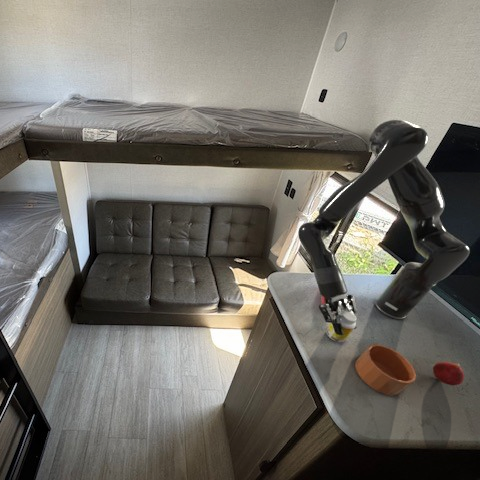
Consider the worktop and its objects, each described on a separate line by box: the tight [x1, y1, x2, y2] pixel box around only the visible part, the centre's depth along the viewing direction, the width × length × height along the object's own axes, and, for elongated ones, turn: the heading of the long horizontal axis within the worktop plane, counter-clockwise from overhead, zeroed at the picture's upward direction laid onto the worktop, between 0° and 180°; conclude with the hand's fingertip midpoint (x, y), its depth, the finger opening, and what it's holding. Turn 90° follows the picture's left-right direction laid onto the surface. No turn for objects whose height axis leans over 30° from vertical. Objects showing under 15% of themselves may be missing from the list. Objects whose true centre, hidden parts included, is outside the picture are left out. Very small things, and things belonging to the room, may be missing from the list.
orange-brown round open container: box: [354, 343, 417, 396], centre depth 72 cm, size 11×11×7 cm
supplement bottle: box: [325, 311, 358, 343], centre depth 82 cm, size 6×6×10 cm
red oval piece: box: [432, 361, 465, 386], centre depth 72 cm, size 6×6×8 cm
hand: (346, 331), depth 81 cm, fingers closed on supplement bottle, 5 cm apart
